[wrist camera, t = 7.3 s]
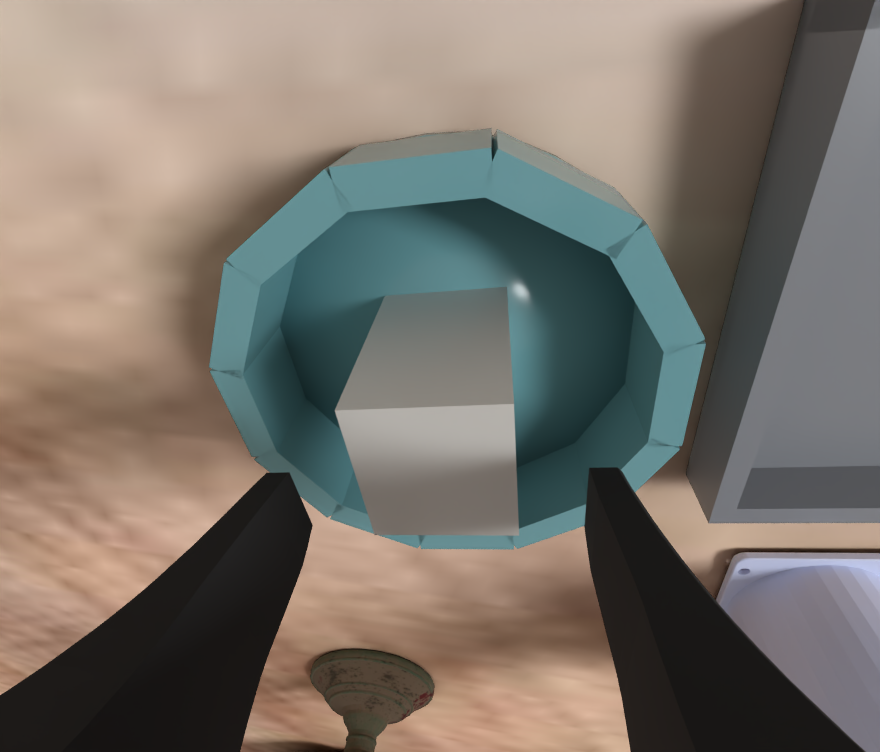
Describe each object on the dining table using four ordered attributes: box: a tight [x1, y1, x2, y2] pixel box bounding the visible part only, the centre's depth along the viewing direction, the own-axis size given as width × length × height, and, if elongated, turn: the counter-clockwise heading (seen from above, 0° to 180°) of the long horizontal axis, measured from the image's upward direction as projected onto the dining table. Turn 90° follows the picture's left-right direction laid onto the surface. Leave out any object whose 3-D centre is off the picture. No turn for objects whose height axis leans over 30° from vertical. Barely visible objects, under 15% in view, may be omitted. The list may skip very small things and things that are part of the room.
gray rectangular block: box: [335, 287, 519, 536], centre depth 14 cm, size 4×4×6 cm
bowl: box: [209, 128, 706, 549], centre depth 15 cm, size 14×14×4 cm
